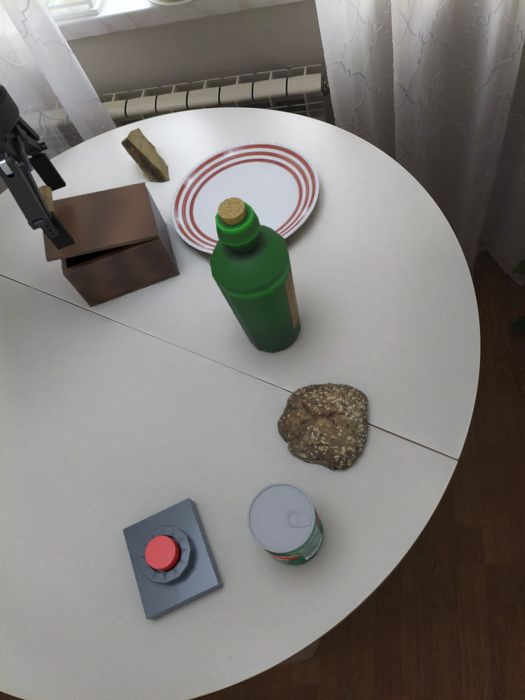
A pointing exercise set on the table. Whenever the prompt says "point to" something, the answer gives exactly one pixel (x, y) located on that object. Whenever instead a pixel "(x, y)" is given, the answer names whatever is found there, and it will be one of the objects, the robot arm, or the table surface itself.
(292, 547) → the canned tomato
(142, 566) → the button block
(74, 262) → the chest
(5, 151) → the robot arm
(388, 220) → the table surface
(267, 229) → the bottle
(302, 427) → the bread roll
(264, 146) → the dinner plate
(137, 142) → the rock
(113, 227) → the lid
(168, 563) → the button
